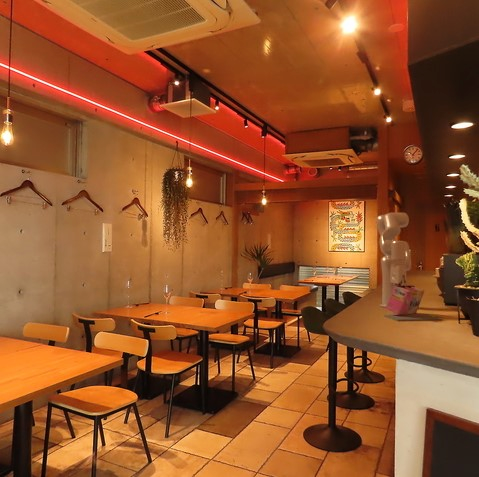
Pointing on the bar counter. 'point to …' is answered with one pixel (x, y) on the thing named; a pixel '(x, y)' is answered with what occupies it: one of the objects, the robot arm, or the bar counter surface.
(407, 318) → the mat
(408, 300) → the gum box
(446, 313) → the bar counter surface
